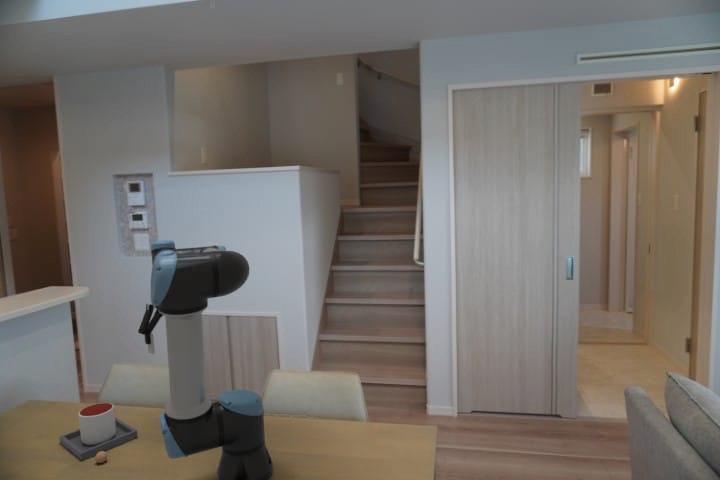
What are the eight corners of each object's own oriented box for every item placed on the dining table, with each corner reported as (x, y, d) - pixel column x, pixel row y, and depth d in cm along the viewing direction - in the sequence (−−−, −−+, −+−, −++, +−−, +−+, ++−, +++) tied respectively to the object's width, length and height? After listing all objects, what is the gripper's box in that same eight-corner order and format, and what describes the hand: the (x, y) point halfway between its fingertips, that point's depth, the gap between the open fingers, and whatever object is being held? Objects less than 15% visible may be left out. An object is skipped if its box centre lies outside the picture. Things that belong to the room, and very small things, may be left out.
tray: (137, 437, 157) (136, 430, 157) (81, 461, 144) (80, 453, 144) (114, 422, 168) (113, 416, 168) (60, 443, 155) (59, 436, 155)
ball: (109, 461, 144) (108, 451, 143) (98, 466, 141) (97, 456, 141) (105, 457, 146) (104, 447, 145) (93, 462, 143) (92, 452, 143)
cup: (101, 448, 150) (98, 417, 149) (73, 445, 152) (70, 415, 151) (123, 432, 160) (120, 403, 159) (96, 430, 162) (94, 401, 161)
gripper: (193, 279, 174) (197, 336, 177) (123, 292, 155) (129, 355, 157) (204, 281, 170) (208, 339, 172) (134, 294, 150) (140, 360, 153)
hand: (170, 347), depth 165 cm, fingers open, 13 cm apart
